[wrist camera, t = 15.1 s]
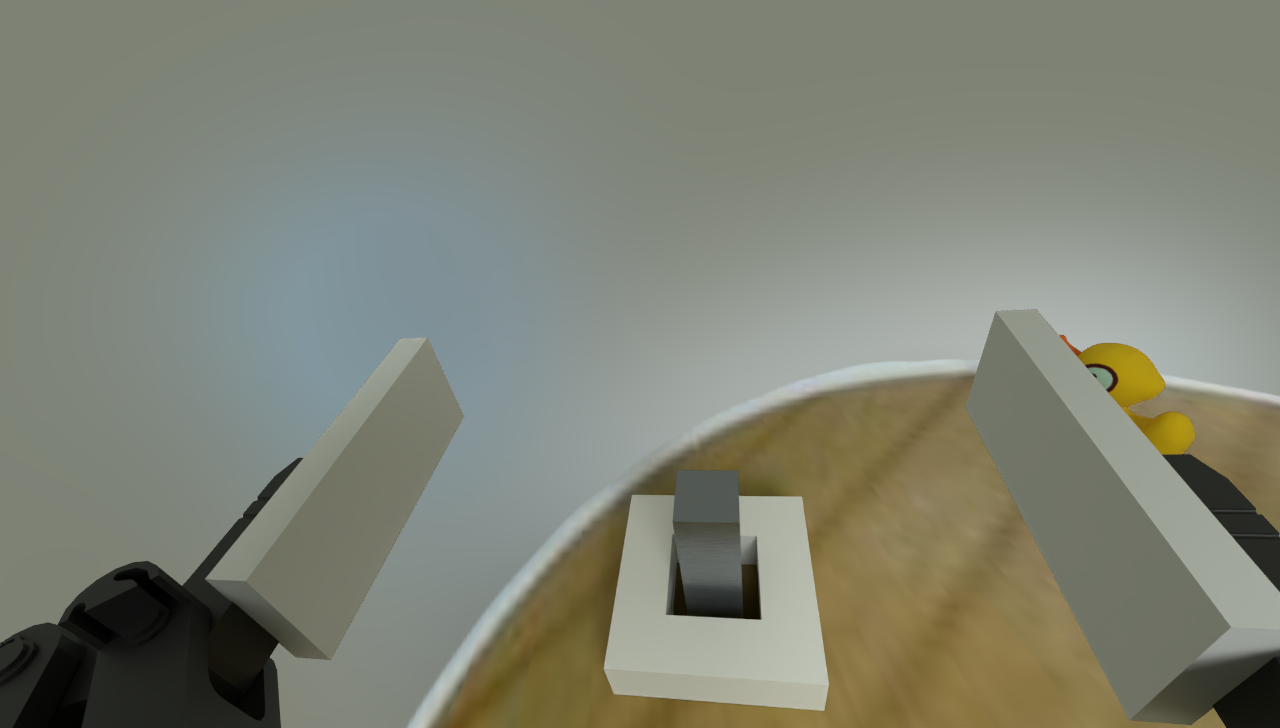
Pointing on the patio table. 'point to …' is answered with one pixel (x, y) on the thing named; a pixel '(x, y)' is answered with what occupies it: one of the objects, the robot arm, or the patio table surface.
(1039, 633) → the patio table surface
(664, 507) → the well block
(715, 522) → the tall dark grey pillar
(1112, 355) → the duckling
